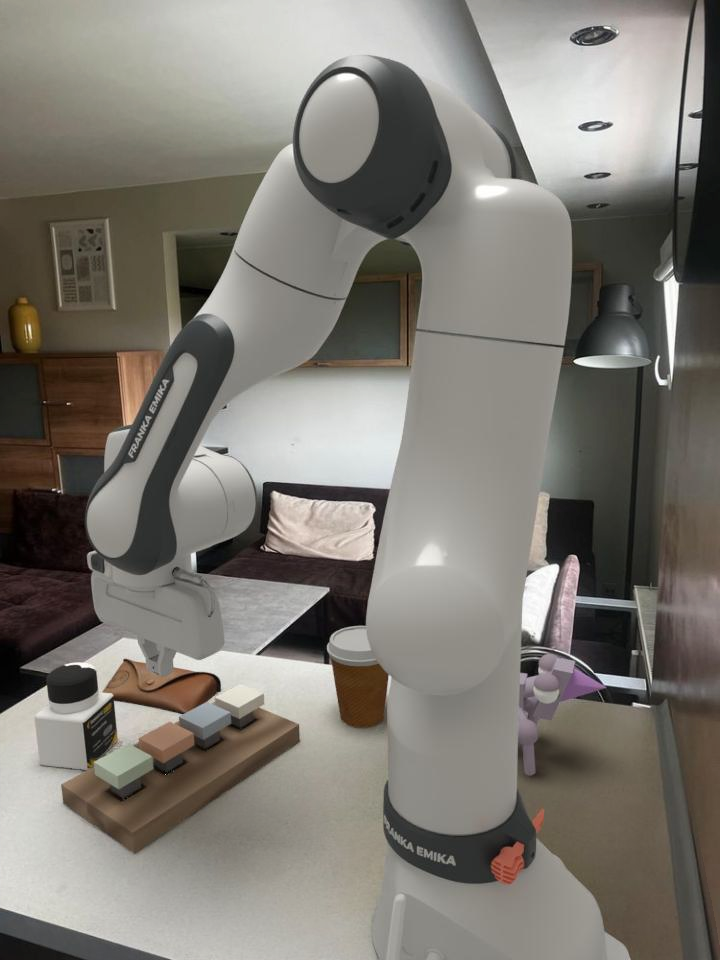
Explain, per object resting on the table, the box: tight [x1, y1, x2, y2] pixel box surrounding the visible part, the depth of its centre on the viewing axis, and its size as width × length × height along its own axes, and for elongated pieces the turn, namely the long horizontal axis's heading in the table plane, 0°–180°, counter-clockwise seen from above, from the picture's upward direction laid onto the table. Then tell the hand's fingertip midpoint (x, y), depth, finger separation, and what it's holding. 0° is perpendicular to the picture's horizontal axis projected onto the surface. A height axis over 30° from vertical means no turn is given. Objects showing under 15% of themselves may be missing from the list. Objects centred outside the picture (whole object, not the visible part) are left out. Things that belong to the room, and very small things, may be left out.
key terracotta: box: [138, 721, 194, 772], centre depth 85 cm, size 5×5×4 cm
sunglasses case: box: [102, 658, 222, 715], centre depth 108 cm, size 18×7×7 cm, turn 71°
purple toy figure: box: [518, 653, 608, 777], centre depth 89 cm, size 20×11×14 cm, turn 68°
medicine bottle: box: [34, 661, 119, 771], centre depth 91 cm, size 7×7×12 cm
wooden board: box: [60, 701, 301, 854], centre depth 88 cm, size 14×26×2 cm, turn 143°
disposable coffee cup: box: [326, 625, 390, 728], centre depth 99 cm, size 10×10×12 cm
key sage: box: [93, 743, 153, 798], centre depth 80 cm, size 5×5×4 cm
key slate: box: [178, 701, 231, 749], centre depth 89 cm, size 5×5×4 cm
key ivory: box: [214, 683, 265, 728], centre depth 94 cm, size 5×5×4 cm
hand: (160, 672), depth 83 cm, fingers closed
